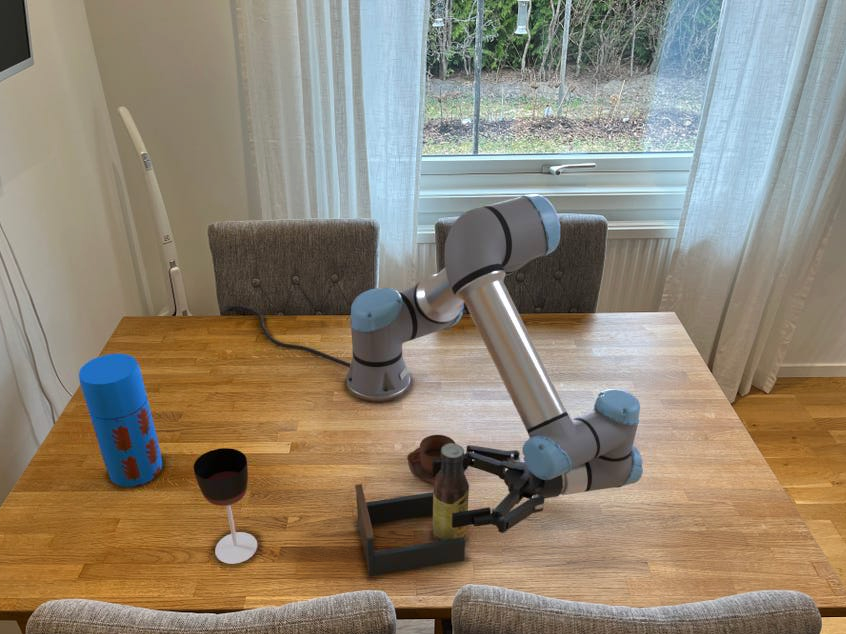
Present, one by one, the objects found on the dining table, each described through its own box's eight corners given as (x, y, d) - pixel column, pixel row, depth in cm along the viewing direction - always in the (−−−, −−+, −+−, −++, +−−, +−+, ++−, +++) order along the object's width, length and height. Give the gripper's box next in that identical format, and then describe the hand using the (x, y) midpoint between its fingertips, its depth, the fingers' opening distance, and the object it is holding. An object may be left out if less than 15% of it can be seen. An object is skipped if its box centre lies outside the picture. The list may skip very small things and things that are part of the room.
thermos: (173, 458, 151) (150, 358, 137) (142, 492, 142) (114, 389, 129) (130, 448, 154) (103, 349, 140) (97, 480, 145) (64, 378, 132)
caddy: (445, 508, 138) (446, 471, 132) (464, 561, 127) (466, 522, 122) (357, 522, 135) (355, 484, 130) (368, 577, 124) (367, 538, 119)
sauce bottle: (463, 550, 129) (468, 466, 118) (429, 545, 130) (431, 462, 119) (468, 524, 134) (473, 441, 123) (435, 519, 135) (437, 437, 124)
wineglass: (214, 532, 133) (197, 449, 122) (262, 529, 133) (248, 446, 123) (208, 566, 126) (189, 481, 115) (258, 562, 127) (244, 478, 116)
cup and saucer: (426, 497, 140) (426, 473, 137) (398, 461, 149) (397, 438, 146) (478, 477, 145) (479, 454, 142) (447, 443, 154) (448, 421, 151)
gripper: (582, 540, 121) (461, 561, 117) (529, 447, 142) (425, 463, 138) (588, 508, 117) (462, 529, 113) (533, 417, 138) (425, 432, 134)
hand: (442, 492), depth 126 cm, fingers open, 13 cm apart
